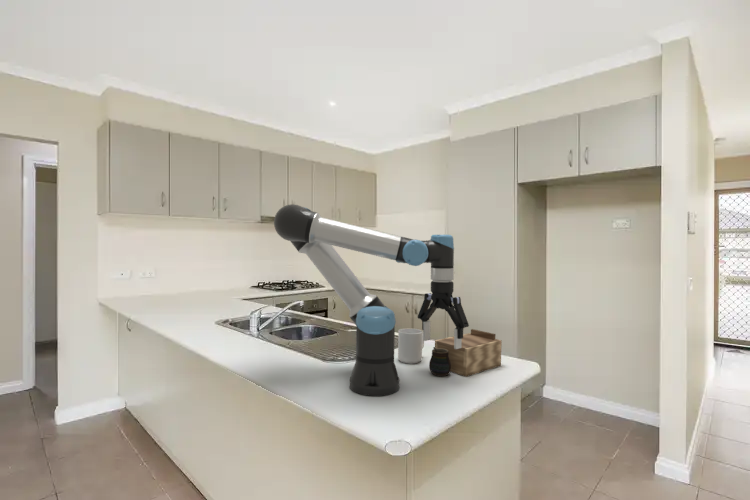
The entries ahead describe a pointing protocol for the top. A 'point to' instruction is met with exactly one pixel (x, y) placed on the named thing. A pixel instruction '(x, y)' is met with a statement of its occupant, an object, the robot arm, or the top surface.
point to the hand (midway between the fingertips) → (441, 344)
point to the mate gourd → (440, 362)
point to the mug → (410, 345)
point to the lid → (470, 340)
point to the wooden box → (474, 358)
